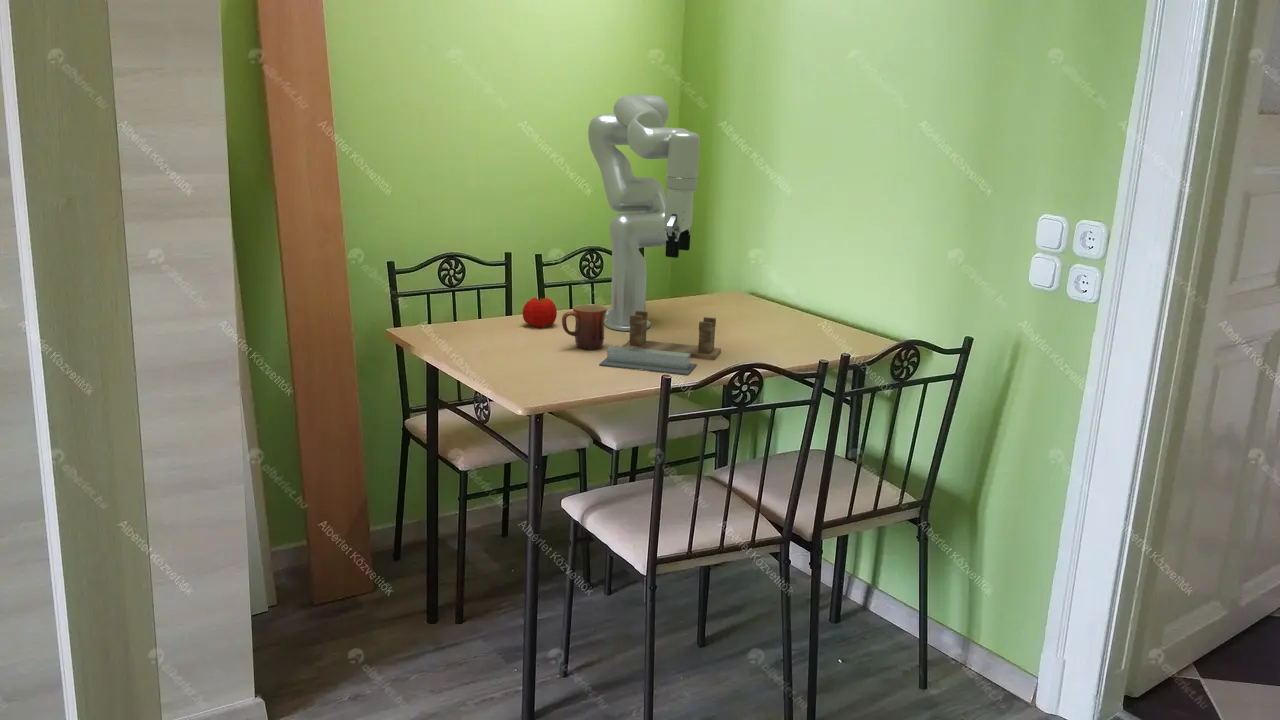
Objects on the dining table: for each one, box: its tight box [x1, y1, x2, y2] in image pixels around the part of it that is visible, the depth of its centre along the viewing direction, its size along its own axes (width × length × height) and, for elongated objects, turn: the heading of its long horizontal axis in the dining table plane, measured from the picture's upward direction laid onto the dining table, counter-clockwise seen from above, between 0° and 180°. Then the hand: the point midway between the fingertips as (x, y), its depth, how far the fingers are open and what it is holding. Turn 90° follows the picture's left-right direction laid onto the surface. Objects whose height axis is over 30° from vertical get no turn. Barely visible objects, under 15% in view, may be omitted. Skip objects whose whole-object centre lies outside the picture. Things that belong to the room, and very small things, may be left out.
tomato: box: [522, 297, 558, 329], centre depth 276 cm, size 9×9×8 cm
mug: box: [561, 303, 608, 351], centre depth 255 cm, size 12×9×10 cm
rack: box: [621, 310, 722, 361], centre depth 254 cm, size 24×8×9 cm, turn 74°
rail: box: [606, 344, 691, 370], centre depth 242 cm, size 20×3×3 cm, turn 74°
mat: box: [598, 357, 697, 376], centre depth 242 cm, size 22×9×1 cm, turn 74°
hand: (677, 253), depth 247 cm, fingers open, 9 cm apart
